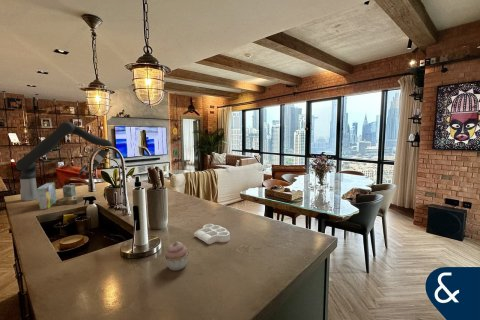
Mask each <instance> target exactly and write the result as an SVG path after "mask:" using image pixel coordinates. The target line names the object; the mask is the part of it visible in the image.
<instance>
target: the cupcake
mask: <svg viewBox="0 0 480 320" xmlns="http://www.w3.org/2000/svg"><path fill="white" fill-rule="evenodd" d="M189 255H190V251H189V250H188V249H187V247H186V245H185V244H183V243H182V242H180V241H174V242H173V243H172V244H170V245H169V246H168V248H167V249H166V251H165V254H164V255H163V257H164V260H165V262H166V263H167V267H168V268H169V270H170V271H174V272H175V271H176V272H177V271H180V270H183V269H185V267H186V266H187V262H188V259H189V258H188V257H189Z"/></svg>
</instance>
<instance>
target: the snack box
mask: <svg viewBox="0 0 480 320" xmlns="http://www.w3.org/2000/svg"><path fill="white" fill-rule="evenodd" d="M55 184H56V183H55V182H46V183H45V184H42V185H41V186H39V187H38V188H37V189H36V190H37V196H38V199H37V201H38V202H37V203H38V209H39V211H40V210H49V208H51V206H53V205H54V204H56V200H58V199H57V193H56V187H55V186H56V185H55Z"/></svg>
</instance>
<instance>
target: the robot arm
mask: <svg viewBox="0 0 480 320" xmlns="http://www.w3.org/2000/svg"><path fill="white" fill-rule="evenodd" d="M69 134H73V135H75V136H78V137H80V138H81V139H84V140H85V141H86V142H88V143H90V144H93V145H95V146H101V147H102V146H112V147H113V142H111V140H109V139H106V138H101V137H99V136H97V135H95V134H92V133H90V132H88V131H86V130H84V129H82V128H80V127H79V126H77V125H76V124H74V123H73V122H70V121H64V122H62V123H60V124H59V125H58V126H57V128H56V129H55V130H53V132H52V133H50V134H49V135H47V136H46V137H45V138H44V139H42V140H41V141H39V143H38V144H37V145H36V146H34V148H33V149H31V150H30V151H29V152H28V153H27V154H25V155H24V156H22V157H21V158H20V159H18V160H17V161H16V163H15V168H16V169H17V170H19V171H21V174H20V175H19V181H20V189H19V192H20V201H21V202H22V201H23V202H26V201H29V202H30V201H34V200H38V196H37V190H36V189H37V187H38V186H37V180H36V178H37V177H36V175H37V166H36V165H37V164H36V161H37V160H39V159H40V158H43V157H44V156H46V155H47V154H49V153H50V152H51V151H52V150H54V148H56V147H57V146H58V144H59V143H60V141H61V140H62V139H63V138H64V137H66V136H68V135H69ZM110 151H111V150H109V149H105V150H101V151H100V152H99V153H98V154H97V155H96V157H95V159H94V164H93V170H92V171H93V173H95V171H96V170H97V168H98V166H99V165H100V163H101V162H102V161H103V159H104V158H105V157H106V155H107V154H108V153H109V152H110ZM88 163H89V160H88V161H87V165H85V164H84V165H83V166H82V167H81V169H79V174H78V175H77V176H78V177H79V178H81V177H82V176H83V175H84V176H83V177H84V178H88V177H89V176H90V175H89V169H88ZM84 173H85V174H84Z"/></svg>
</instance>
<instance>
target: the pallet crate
mask: <svg viewBox="0 0 480 320" xmlns="http://www.w3.org/2000/svg"><path fill="white" fill-rule="evenodd" d="M62 193H63V196H62V198H63V200H71V199H73V198H76V197H77V193H76V184H65V185H64V186H62Z"/></svg>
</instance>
